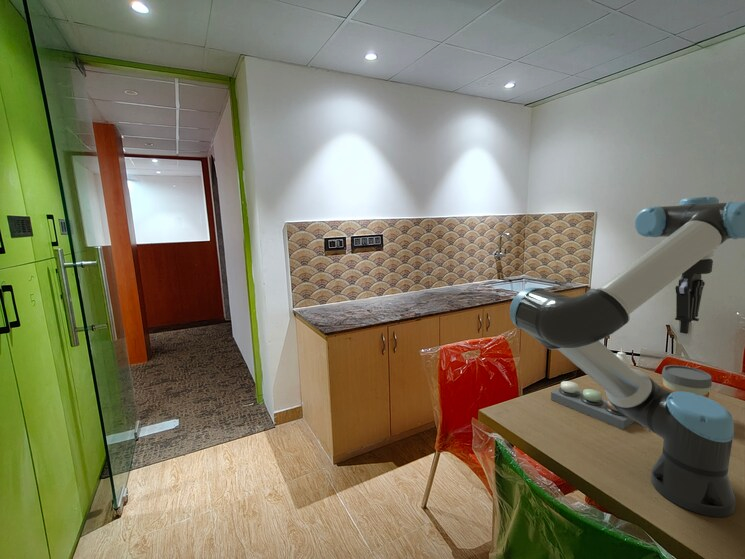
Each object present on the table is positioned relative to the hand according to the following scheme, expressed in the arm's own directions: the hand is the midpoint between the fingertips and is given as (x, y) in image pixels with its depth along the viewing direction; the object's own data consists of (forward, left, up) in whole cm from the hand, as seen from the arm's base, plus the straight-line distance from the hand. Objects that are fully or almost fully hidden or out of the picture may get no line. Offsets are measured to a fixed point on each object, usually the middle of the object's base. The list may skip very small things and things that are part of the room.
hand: (684, 343), depth 95 cm
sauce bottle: (+29, +26, -33) cm, 51 cm away
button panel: (+6, +25, -32) cm, 41 cm away
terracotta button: (+6, +17, -28) cm, 33 cm away
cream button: (+6, +33, -28) cm, 44 cm away
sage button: (+6, +25, -28) cm, 38 cm away
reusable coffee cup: (+27, +6, -33) cm, 43 cm away
